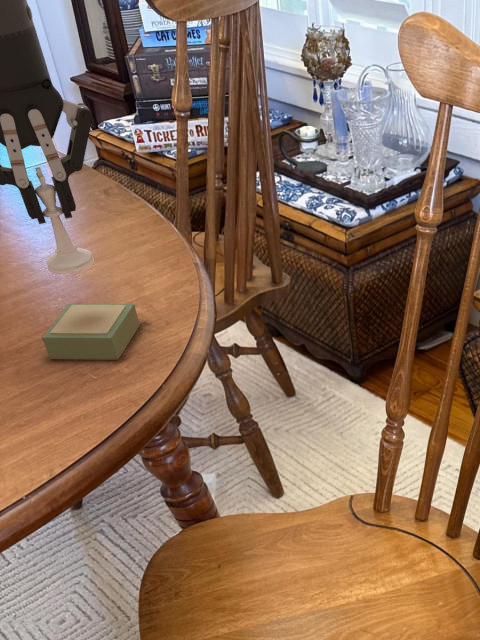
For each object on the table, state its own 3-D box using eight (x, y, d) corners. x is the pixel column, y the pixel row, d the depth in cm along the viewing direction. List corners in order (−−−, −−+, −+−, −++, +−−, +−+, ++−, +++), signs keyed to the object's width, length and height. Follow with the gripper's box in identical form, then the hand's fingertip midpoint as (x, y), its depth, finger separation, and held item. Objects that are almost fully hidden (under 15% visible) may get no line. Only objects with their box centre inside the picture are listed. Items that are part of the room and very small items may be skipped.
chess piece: (54, 278, 83) (18, 180, 76) (42, 262, 86) (7, 167, 79) (99, 265, 84) (68, 169, 77) (87, 250, 87) (56, 156, 81)
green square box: (50, 359, 89) (41, 335, 87) (76, 324, 95) (68, 301, 93) (118, 360, 88) (110, 336, 86) (140, 325, 94) (133, 302, 92)
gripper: (62, 8, 74) (114, 194, 86) (-96, 27, 70) (-18, 220, 82) (74, 21, 69) (128, 217, 81) (-95, 43, 65) (-12, 245, 77)
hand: (54, 217), depth 82 cm, fingers closed on chess piece
